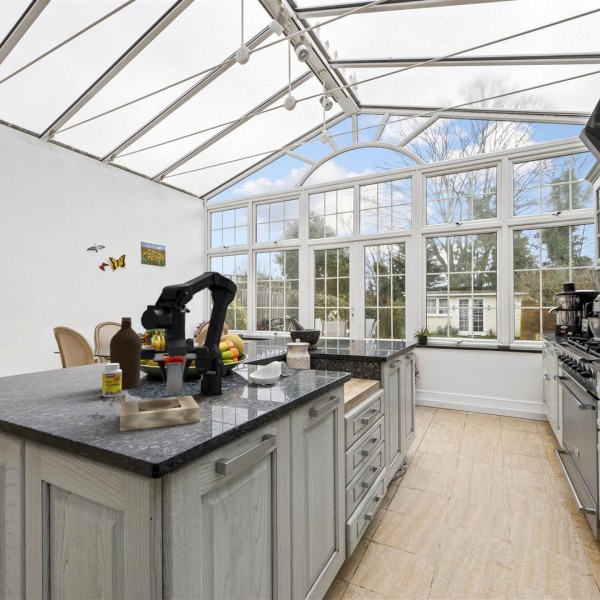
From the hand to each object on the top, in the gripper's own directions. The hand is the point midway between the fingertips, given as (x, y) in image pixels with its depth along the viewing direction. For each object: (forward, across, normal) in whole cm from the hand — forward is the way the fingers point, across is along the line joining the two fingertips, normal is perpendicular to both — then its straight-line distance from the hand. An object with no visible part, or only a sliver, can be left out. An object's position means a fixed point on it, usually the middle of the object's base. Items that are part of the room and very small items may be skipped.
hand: (174, 382), depth 108 cm
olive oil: (+7, -13, +35) cm, 38 cm away
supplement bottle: (+7, -17, +22) cm, 29 cm away
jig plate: (+7, -5, -11) cm, 14 cm away
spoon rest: (+7, +39, +24) cm, 47 cm away
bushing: (+3, 0, 0) cm, 3 cm away
